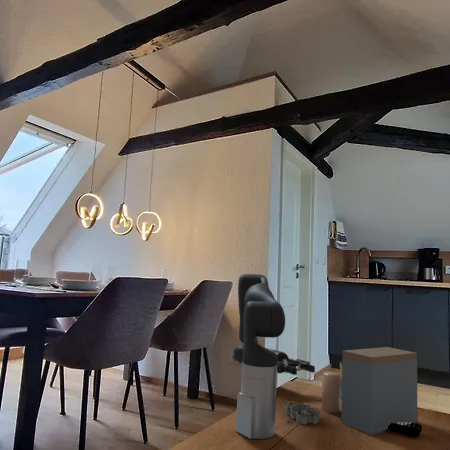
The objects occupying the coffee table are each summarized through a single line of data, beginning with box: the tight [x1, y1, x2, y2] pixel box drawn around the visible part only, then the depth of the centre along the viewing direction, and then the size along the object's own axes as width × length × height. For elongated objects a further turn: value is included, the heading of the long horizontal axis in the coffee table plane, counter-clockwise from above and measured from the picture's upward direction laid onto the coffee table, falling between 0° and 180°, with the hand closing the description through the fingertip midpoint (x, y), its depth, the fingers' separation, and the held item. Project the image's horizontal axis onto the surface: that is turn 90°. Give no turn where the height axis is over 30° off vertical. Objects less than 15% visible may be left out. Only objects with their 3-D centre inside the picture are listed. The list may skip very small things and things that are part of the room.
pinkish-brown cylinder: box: [321, 371, 341, 414], centre depth 126 cm, size 6×6×11 cm
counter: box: [340, 346, 418, 436], centre depth 118 cm, size 22×10×20 cm, turn 125°
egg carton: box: [284, 399, 321, 425], centre depth 117 cm, size 11×8×4 cm
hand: (305, 370), depth 136 cm, fingers open, 8 cm apart
